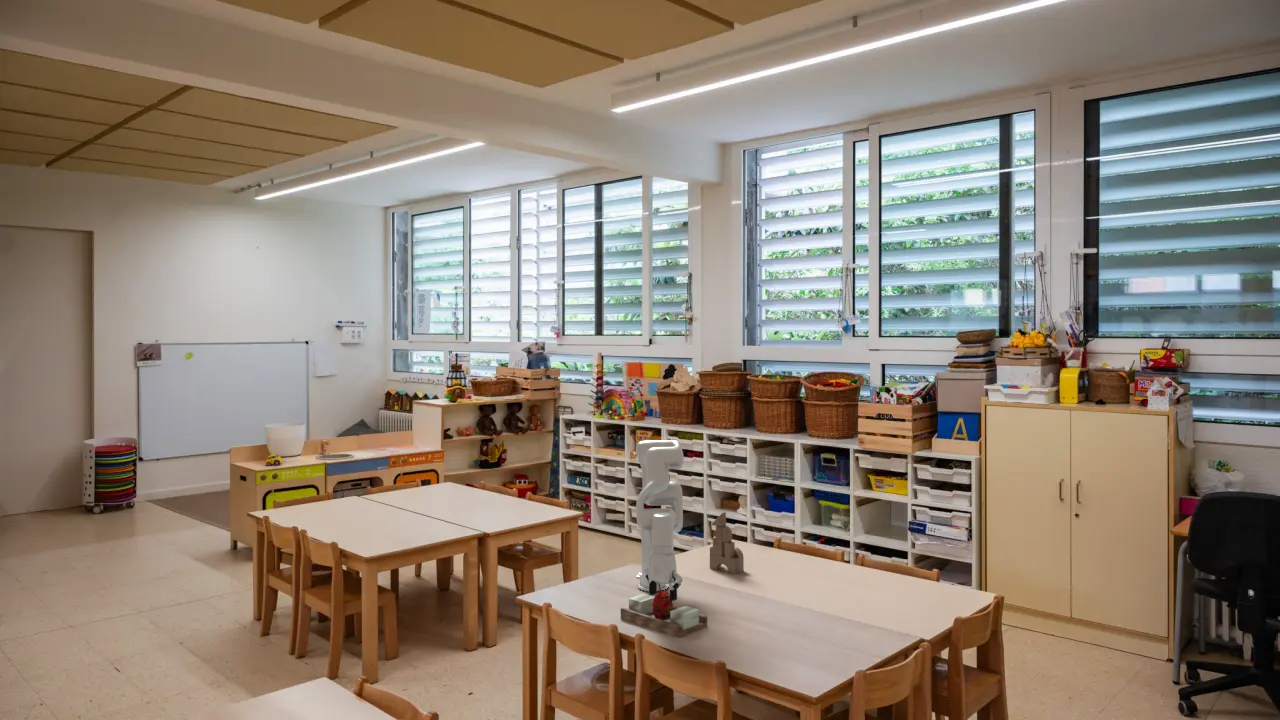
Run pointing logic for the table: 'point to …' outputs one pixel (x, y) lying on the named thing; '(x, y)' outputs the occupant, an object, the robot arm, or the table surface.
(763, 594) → the table surface
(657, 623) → the display tray
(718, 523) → the wooden toy
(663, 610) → the red clay folk toy
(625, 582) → the table surface
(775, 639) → the table surface
